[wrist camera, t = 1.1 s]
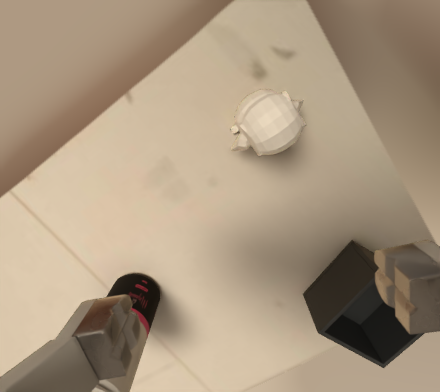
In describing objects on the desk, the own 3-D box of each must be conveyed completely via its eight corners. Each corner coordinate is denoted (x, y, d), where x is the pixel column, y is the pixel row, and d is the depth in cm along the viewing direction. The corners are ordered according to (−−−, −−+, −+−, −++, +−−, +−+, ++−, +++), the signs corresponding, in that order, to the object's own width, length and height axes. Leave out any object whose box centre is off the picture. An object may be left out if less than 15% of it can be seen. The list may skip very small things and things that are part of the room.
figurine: (236, 153, 30) (243, 185, 19) (212, 118, 29) (204, 131, 18) (299, 110, 29) (347, 117, 17) (276, 71, 27) (311, 52, 16)
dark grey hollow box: (352, 239, 34) (380, 270, 28) (410, 276, 35) (449, 313, 29) (302, 294, 37) (318, 333, 31) (358, 325, 38) (383, 368, 32)
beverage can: (144, 264, 36) (90, 372, 21) (170, 299, 37) (136, 421, 23) (104, 283, 37) (28, 397, 23) (131, 316, 39) (77, 441, 25)
